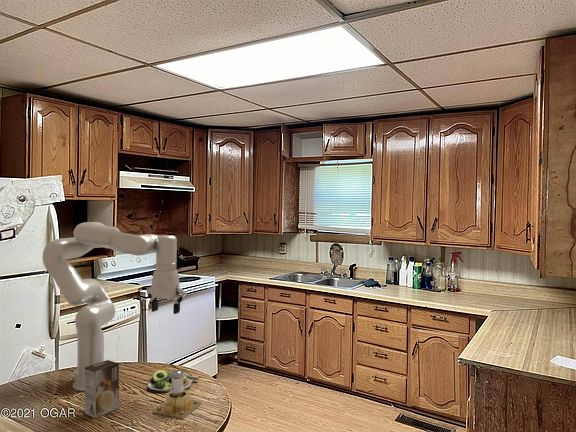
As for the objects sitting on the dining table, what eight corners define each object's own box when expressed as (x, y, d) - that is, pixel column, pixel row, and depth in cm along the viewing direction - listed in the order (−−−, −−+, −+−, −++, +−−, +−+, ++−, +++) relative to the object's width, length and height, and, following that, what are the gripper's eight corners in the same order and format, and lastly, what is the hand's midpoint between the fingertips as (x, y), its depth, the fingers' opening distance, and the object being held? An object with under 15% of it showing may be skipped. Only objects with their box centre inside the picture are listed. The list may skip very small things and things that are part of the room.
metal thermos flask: (168, 407, 151) (169, 372, 151) (175, 402, 155) (175, 368, 155) (178, 409, 150) (179, 374, 150) (185, 404, 154) (185, 370, 154)
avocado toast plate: (200, 375, 184) (200, 364, 184) (196, 393, 166) (196, 381, 166) (153, 376, 182) (153, 365, 182) (144, 394, 164) (144, 382, 164)
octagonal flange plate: (152, 413, 149) (152, 398, 149) (172, 398, 160) (172, 385, 160) (182, 419, 145) (183, 404, 145) (201, 404, 156) (201, 390, 156)
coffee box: (107, 403, 155) (108, 359, 155) (119, 408, 152) (119, 362, 152) (83, 413, 147) (84, 366, 147) (95, 419, 144) (96, 370, 144)
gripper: (141, 267, 166) (140, 312, 166) (180, 270, 160) (179, 316, 160) (153, 265, 173) (152, 308, 173) (191, 267, 167) (190, 312, 167)
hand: (165, 312), depth 167 cm, fingers open, 9 cm apart
